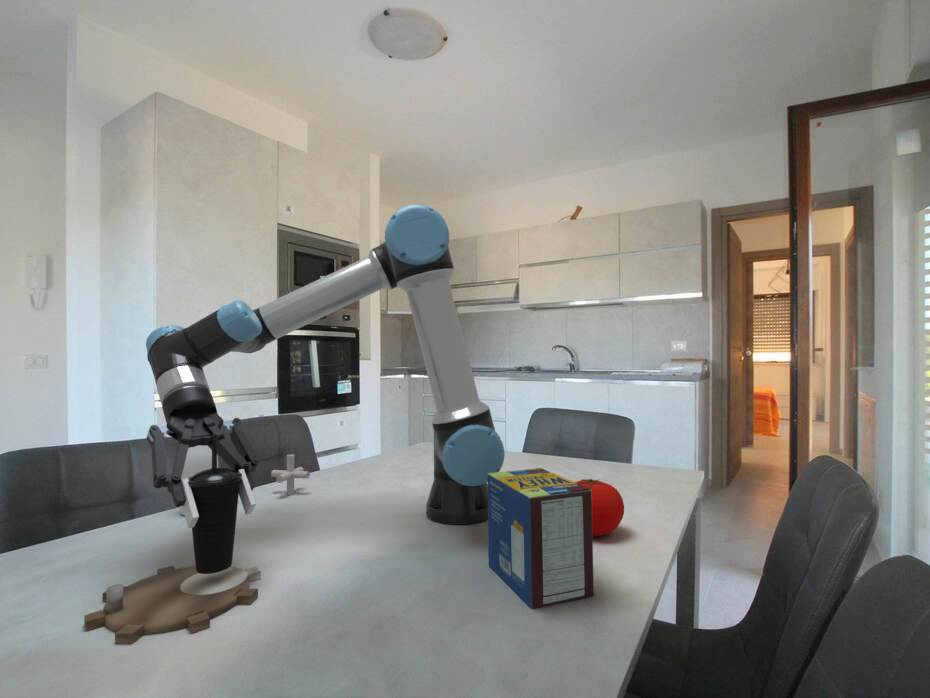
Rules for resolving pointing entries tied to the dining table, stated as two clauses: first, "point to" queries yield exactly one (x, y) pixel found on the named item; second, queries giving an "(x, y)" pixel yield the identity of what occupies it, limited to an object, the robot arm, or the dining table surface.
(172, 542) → the dining table surface
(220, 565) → the drinking cup
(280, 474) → the pipe connector
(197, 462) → the milk bottle
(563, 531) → the protein box
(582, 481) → the tomato
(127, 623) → the sprocket plate
